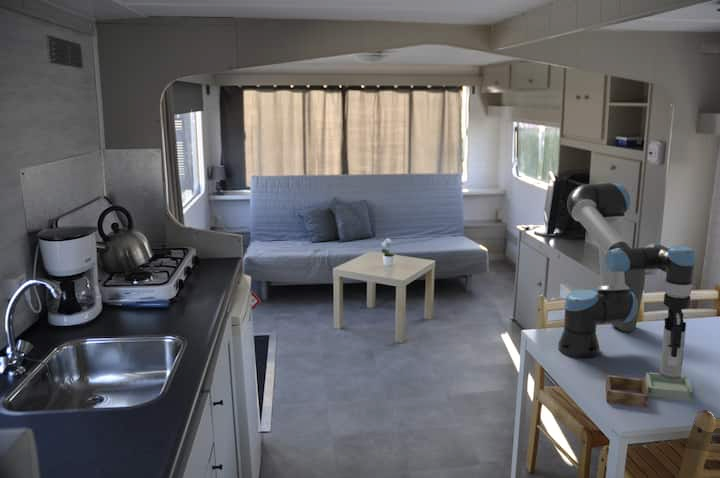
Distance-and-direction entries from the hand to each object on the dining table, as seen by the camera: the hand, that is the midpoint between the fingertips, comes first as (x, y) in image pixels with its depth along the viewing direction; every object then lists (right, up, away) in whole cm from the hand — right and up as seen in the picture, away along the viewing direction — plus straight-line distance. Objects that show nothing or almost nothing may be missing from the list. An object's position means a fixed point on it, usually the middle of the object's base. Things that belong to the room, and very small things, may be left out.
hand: (671, 360), depth 200 cm
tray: (0, -11, +3) cm, 11 cm away
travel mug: (0, -5, +1) cm, 6 cm away
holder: (-15, -12, -1) cm, 19 cm away
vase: (+9, +2, +56) cm, 57 cm away
